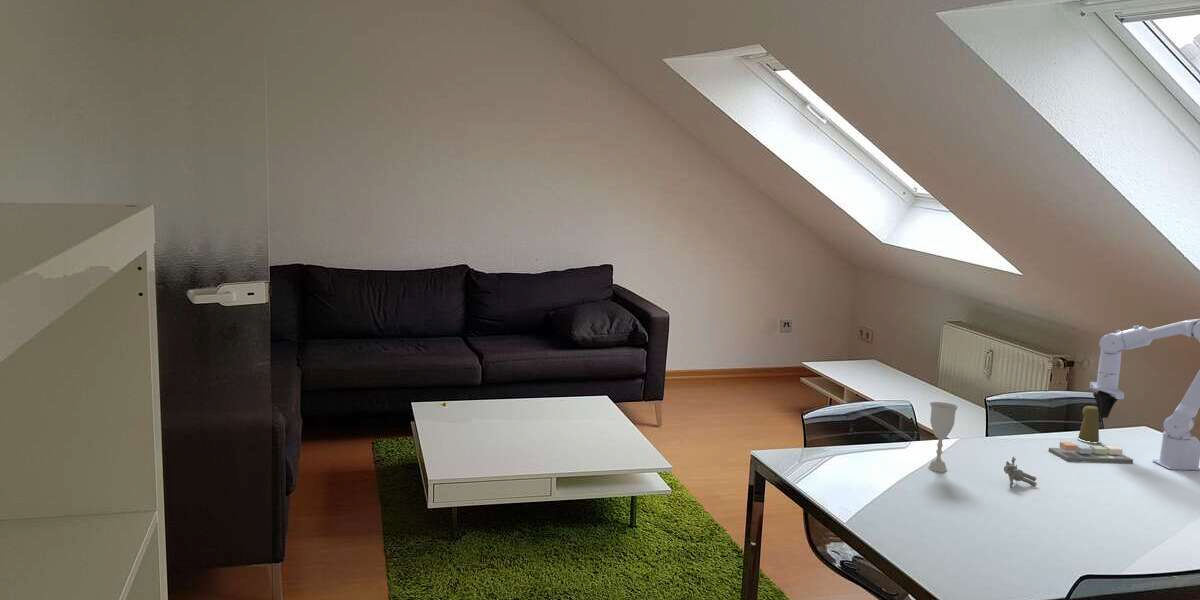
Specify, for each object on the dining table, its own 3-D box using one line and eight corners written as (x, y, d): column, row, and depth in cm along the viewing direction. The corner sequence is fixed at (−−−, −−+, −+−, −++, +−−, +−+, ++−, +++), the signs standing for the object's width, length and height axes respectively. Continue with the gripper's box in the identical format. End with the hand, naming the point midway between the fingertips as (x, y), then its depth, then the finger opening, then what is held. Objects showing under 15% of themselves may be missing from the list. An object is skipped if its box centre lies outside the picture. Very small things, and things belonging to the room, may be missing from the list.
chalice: (921, 469, 265) (927, 405, 262) (925, 463, 271) (931, 400, 268) (949, 474, 261) (956, 409, 259) (953, 468, 267) (959, 404, 265)
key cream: (1114, 451, 287) (1115, 446, 287) (1121, 454, 284) (1122, 449, 284) (1103, 451, 287) (1104, 445, 287) (1110, 454, 284) (1111, 449, 284)
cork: (1102, 443, 301) (1106, 409, 299) (1083, 442, 301) (1087, 408, 299) (1093, 438, 307) (1097, 404, 305) (1074, 437, 307) (1078, 403, 305)
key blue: (1085, 450, 287) (1085, 445, 287) (1091, 453, 283) (1092, 448, 283) (1074, 450, 287) (1074, 445, 286) (1080, 453, 283) (1081, 448, 283)
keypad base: (1112, 452, 291) (1113, 448, 291) (1132, 462, 281) (1133, 458, 281) (1048, 450, 290) (1048, 447, 289) (1066, 461, 280) (1067, 457, 280)
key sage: (1099, 451, 287) (1100, 445, 287) (1106, 454, 284) (1107, 449, 284) (1088, 450, 287) (1089, 445, 287) (1095, 454, 284) (1096, 448, 283)
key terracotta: (1070, 447, 286) (1071, 442, 286) (1076, 450, 283) (1077, 445, 283) (1059, 447, 286) (1060, 441, 286) (1065, 450, 283) (1066, 445, 283)
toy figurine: (1041, 493, 250) (1008, 478, 250) (1027, 503, 254) (995, 489, 255) (1042, 462, 256) (1011, 448, 256) (1029, 472, 261) (998, 458, 261)
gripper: (1082, 367, 296) (1077, 410, 298) (1109, 377, 282) (1104, 423, 284) (1104, 368, 297) (1099, 411, 299) (1133, 378, 283) (1127, 423, 284)
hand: (1103, 417), depth 291 cm, fingers closed
